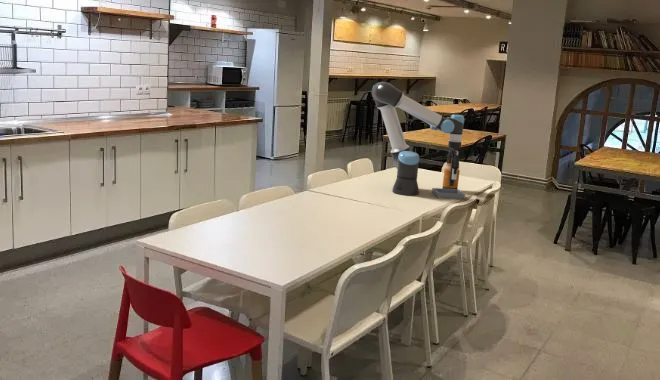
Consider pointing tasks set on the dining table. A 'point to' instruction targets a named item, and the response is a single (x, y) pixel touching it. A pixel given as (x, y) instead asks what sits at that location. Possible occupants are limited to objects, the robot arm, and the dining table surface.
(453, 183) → the canister
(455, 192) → the bin
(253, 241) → the dining table surface
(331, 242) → the dining table surface
